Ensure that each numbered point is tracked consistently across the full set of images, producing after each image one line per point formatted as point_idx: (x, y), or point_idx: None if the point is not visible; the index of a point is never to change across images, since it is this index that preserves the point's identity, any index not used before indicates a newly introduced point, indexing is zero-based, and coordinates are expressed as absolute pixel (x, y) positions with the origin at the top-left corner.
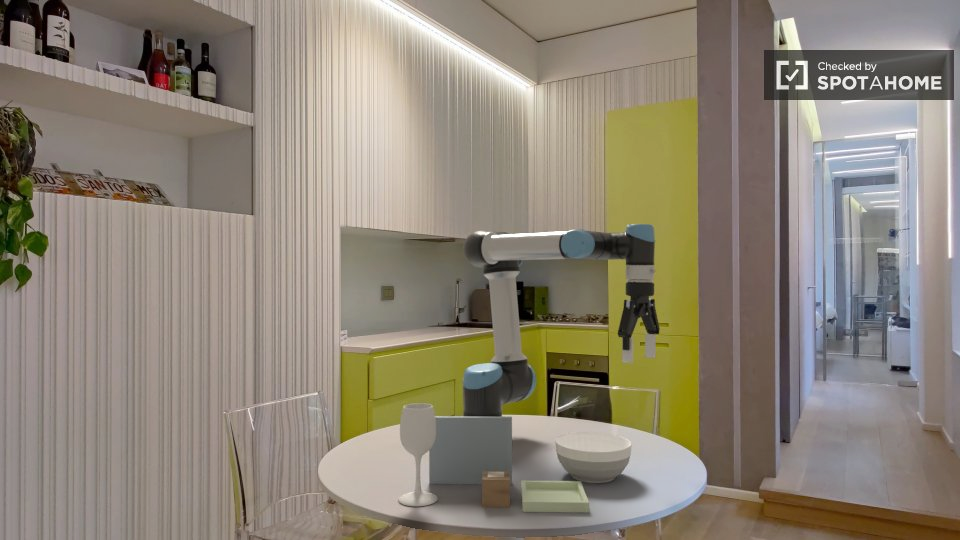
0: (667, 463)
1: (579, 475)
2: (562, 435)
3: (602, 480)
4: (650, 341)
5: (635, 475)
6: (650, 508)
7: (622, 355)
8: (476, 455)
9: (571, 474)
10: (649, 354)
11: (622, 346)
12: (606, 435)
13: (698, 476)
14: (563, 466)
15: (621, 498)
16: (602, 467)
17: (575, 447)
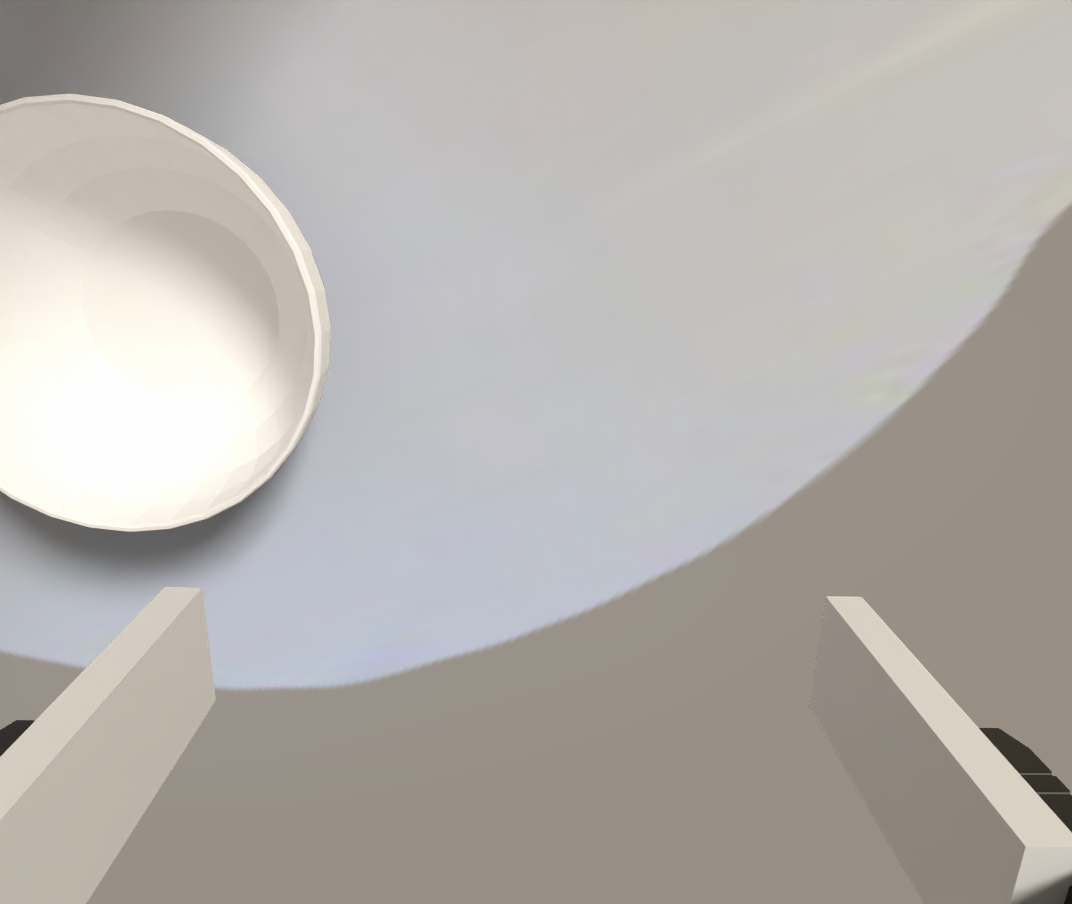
0: (588, 488)
1: (27, 321)
2: (74, 101)
3: (130, 392)
4: (920, 825)
5: (331, 451)
6: (36, 643)
7: (121, 636)
8: None
9: (61, 254)
10: (834, 674)
11: (39, 718)
12: (310, 309)
13: (492, 645)
14: (8, 222)
15: (42, 528)
16: (33, 441)
17: (210, 155)
